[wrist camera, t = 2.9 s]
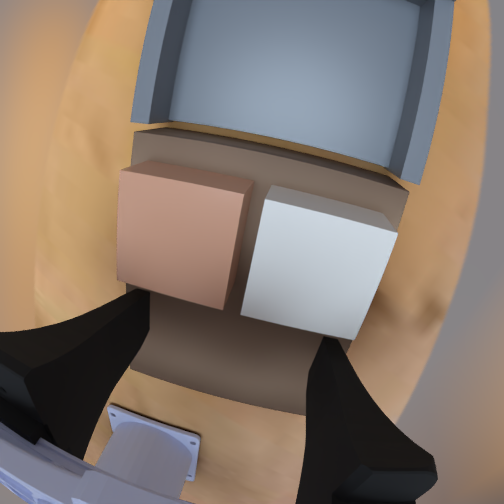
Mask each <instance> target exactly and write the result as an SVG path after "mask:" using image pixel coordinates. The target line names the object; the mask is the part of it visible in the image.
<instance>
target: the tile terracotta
mask: <svg viewBox="0 0 504 504" xmlns="http://www.w3.org/2000/svg"><path fill="white" fill-rule="evenodd" d="M253 186H254V181H253V180H249V179H244V178H239V177H234V176H230V175H225V174H220V173H215V172H210V171H205V170H199V169H194V168H189V167H183V166H178V165H172V164H166V163H160V162H154V161H148V160H147V161H144V162H142V163H139V164H136V165H133V166H130V167H127V168H124V169H122V170H120V176H119V192H118V214H117V280H119V281H122V282H125V283H128V284H132V285H135V286H138V287H141V288H145V289H148V290H152V291H155V292H158V293H162V294H165V295H169V296H172V297H176V298H179V299H183V300H186V301H190V302H194V303H197V304H201V305H205V306H209V307H212V308H216V309H220V310H223V309H224V306H225V304H226V302H227V299H228V297H229V294H230V292H231V290H232V287H233V285H234V282H235V278H236V273H237V268H238V262H239V257H240V252H241V247H242V242H243V236H244V231H245V226H246V221H247V216H248V211H249V206H250V201H251V196H252V191H253Z"/></svg>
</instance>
